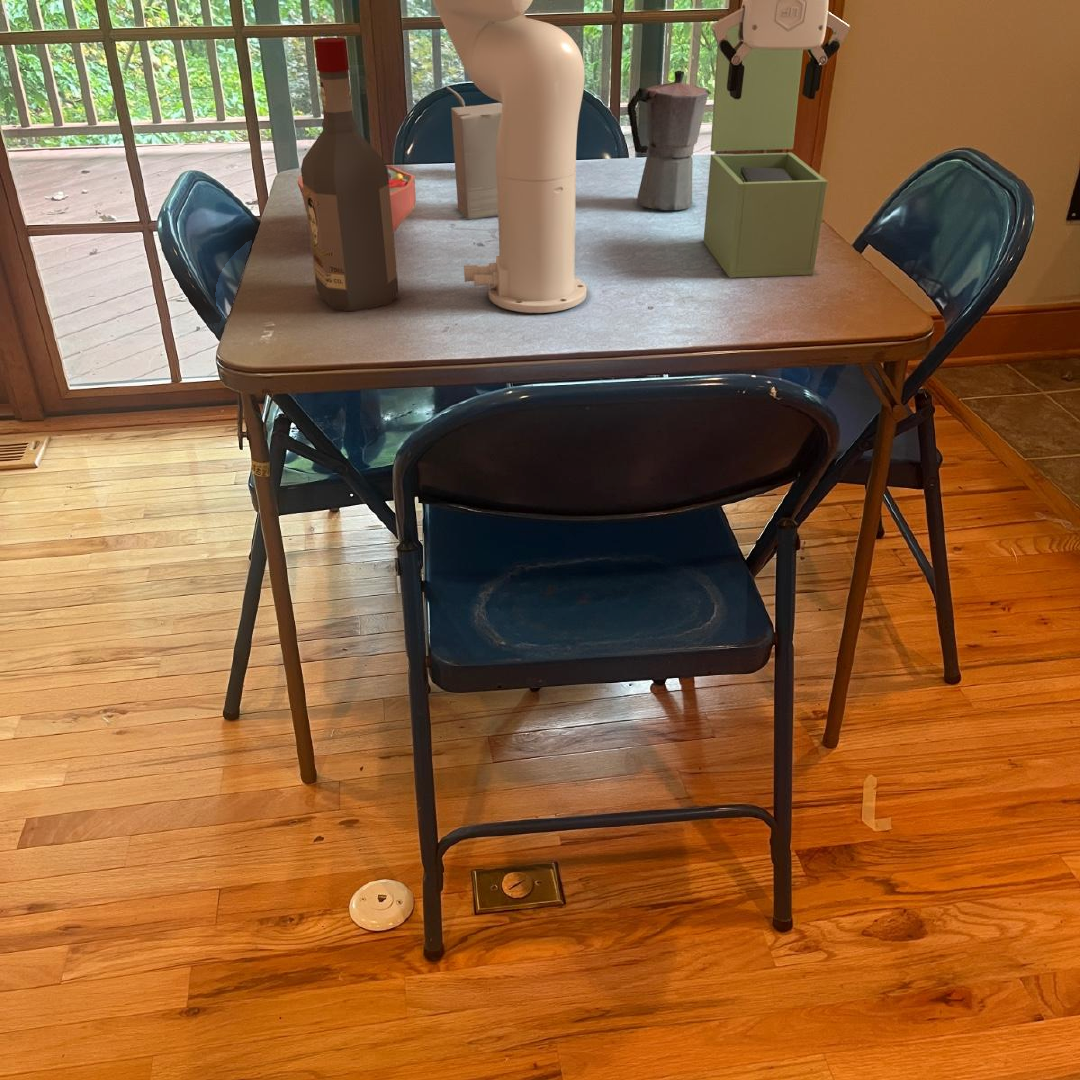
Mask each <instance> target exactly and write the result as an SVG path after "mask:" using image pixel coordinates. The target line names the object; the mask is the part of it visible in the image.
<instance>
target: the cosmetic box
mask: <svg viewBox="0 0 1080 1080" xmlns="http://www.w3.org/2000/svg"><path fill="white" fill-rule="evenodd" d="M450 111H451V125H452V126H451V128H452V143H453V155H454V156H453V158H454V170H455V172H454V173H455V184H456V185H455V187H456V200H457V209H458V210H459V212H460V213H461V214H462V215H463V216H464V218H465V219H467V220H476V219H484V218H490V217H498V189H497V166H496V147H497V136H498V129H499V124H500V119H501V113H502V102H494V103H493V102H492V103H485V104H477V105H467V106H466V105H465V107H462V106H456V107H451V109H450Z"/></svg>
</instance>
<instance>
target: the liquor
mask: <svg viewBox="0 0 1080 1080" xmlns="http://www.w3.org/2000/svg"><path fill="white" fill-rule="evenodd" d="M313 46H314V54H315V62H316V71H317V72H318V76H319V77H318V78H319V85H320V86H319V87H320V96H321V103H322V115H323V120H322V123H321V127H322V131H321V132H320V134H319V135H318V137H317V138H316V139H315V141H314V142H313V144H312V145H311V147H310V148H309V150H308V151H307V153H306V154H305V156H304V157H303V159H302V161H301V162H302V163H301V167H300V173H301V174H300V175H302V182H303V189H304V197H305V204H306V208H305V212H306V211H307V212H306V218H307V226H308V233H309V241H310V247H311V249H310V250H311V257H312V262H313V269H314V278H315V285H316V291H317V292H318V294H319V295H320V297H321V298H322V300H324V302H325V303H326V304H327V305H328V306H329V307H330V308H331V309H332V310H337V311H345V312H355V311H361V310H367V309H374V308H378V307H384V306H387V305H389V304H390V303H392V301H394V300H395V299H396V298H397V295H398V293H399V283H398V270H397V259H396V250H395V249H396V248H395V237H394V235H395V234H394V233H393V224H392V212H391V201H390V189H389V178H388V169H387V167H386V166H387V164H386V162H385V160H384V159H383V157H381V155H380V154H379V153H378V152H377V151H376V150H375V149H374V147H373V146H372V145H371V144H370V143H369V142H368V141H367V140H366V139H365V137H363V135H362V134H361V133H360V132H359V131H358V130H357V129H358V128H357V122H356V120H355V118H354V110H353V106H352V104H353V103H352V96H351V95H352V93H351V85H350V77H349V70H350V62H349V55H348V45H347V39H346V38H344V37H321V38H315V39H313ZM305 204H304V205H305Z"/></svg>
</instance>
